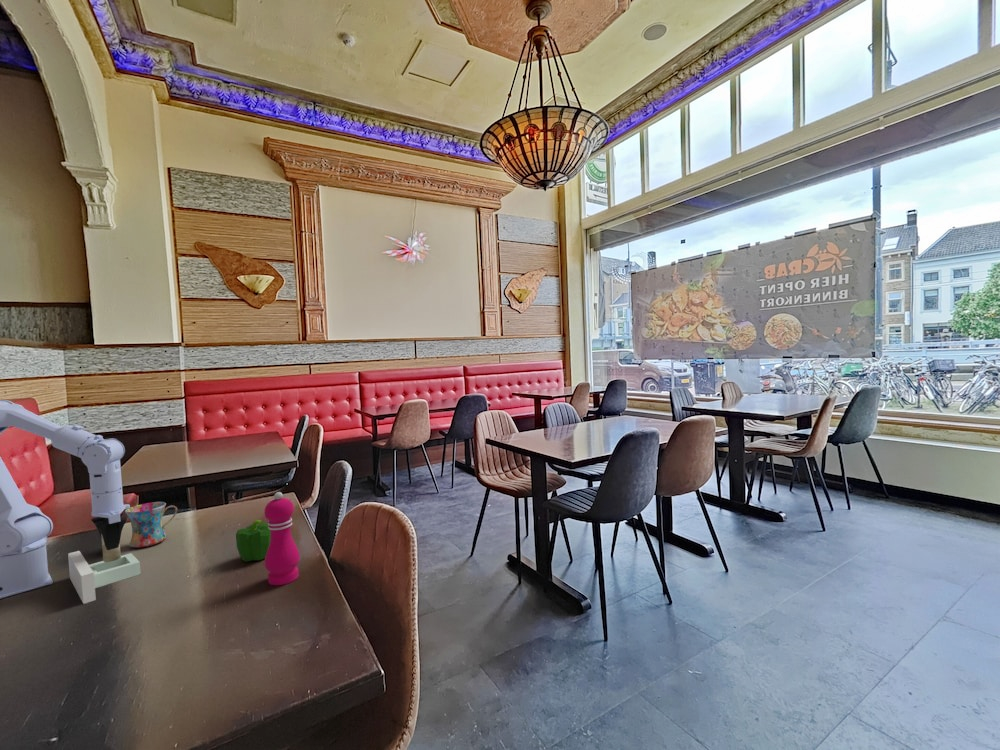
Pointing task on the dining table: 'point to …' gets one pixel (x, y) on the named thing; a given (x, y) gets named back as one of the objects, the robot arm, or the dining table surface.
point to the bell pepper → (253, 541)
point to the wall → (82, 577)
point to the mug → (147, 523)
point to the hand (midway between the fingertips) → (111, 546)
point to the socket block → (115, 570)
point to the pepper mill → (281, 542)
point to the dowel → (110, 553)
